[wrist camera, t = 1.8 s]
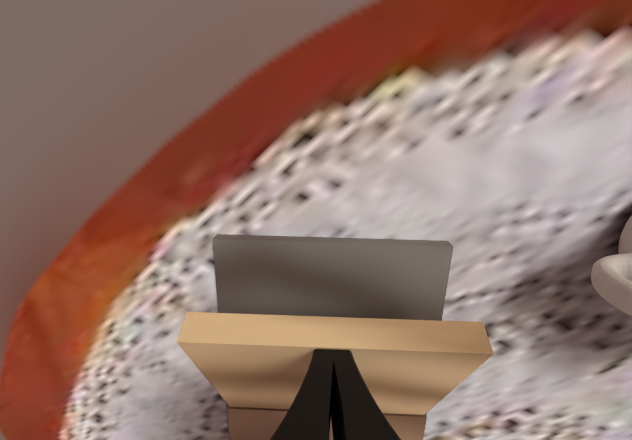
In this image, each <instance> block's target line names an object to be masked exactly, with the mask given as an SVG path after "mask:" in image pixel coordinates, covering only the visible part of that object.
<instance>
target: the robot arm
mask: <svg viewBox="0 0 632 440" xmlns="http://www.w3.org/2000/svg"><path fill="white" fill-rule="evenodd" d="M330 422H332V432H333V440H401V439H400V438H399V436H398V435H397V433H396V432H395V431H394V429H393V428H392V426H391V425H390V424H389V422H388V421H387V419H386V418H385V416H384V415H383V413H382V411H381V410H380V408H379V407H378V405H377V403H376V402H375V400H374V398H373V396H372V395H371V393H370V391H369V389H368V387H367V385H366V384H365V382H364V380H363V378H362V376H361V374H360V372H359V369H358V367H357V365H356V363H355V360H354V358H353V355H352V352H351V351H350V350H337V349H315V350H314V351H313V356H312V360H311V363H310V365H309V368H308V371H307V373H306V376H305V378H304V380H303V383H302V385H301V387H300V389H299V391H298V393H297V395H296V397H295V399H294V401H293V403H292V405H291V407H290V408H289V410H288V412H287V414H286V415H285V417H284V419H283V420H282V422H281V423H280V425H279V427H278V428H277V430H276V431H275V433H274V434H273V436H272V437H271V438H270V440H329V435H330Z"/></svg>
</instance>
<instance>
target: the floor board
mask: <svg viewBox="0 0 632 440" xmlns="http://www.w3.org/2000/svg"><path fill="white" fill-rule="evenodd" d="M213 251H214V263H215V275H216V287H217V299H218V311H219V313H234V314H262V315H291V316H320V317H348V318H377V319H406V320H435V321H441V320H442V314H443V308H444V301H445V295H446V289H447V283H448V276H449V270H450V264H451V258H452V251H453V246H452V245H451V244H450V243H449V242H448V241H427V240H392V239H357V238H323V237H288V236H253V235H219V234H217V235H216V236H215V237H214V238H213ZM226 407H227V419H228V431H229V440H270V438H271V437H272V436H273V434H274V433H275V431H276V430H277V428H278V427H279V425H280V423H281V422H282V420H283V419H284V417H285V415H286V414H287V412H288V410H289V409H273V408H249V407H230V406H229V405H228V404H227V403H226ZM426 414H427V413H426ZM426 414H425V415H416V414H392V413H383V415H384V416H385V418H386V419H387V421H388V422H389V424H390V425H391V426H392V428H393V429H394V431H395V432H396V433H397V435H398V436H399V438H400V439H401V440H423V436H424V430H425V424H426V418H427V417H426ZM329 440H333V432H332V422H330V435H329Z"/></svg>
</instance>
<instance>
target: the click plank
mask: <svg viewBox="0 0 632 440" xmlns="http://www.w3.org/2000/svg"><path fill="white" fill-rule="evenodd" d="M177 343H178V344H179V345H180V347H181V348H182V349H183V350H184V352H185V353H186V354H187V355H188V356H189V358H190V359H191V360H192V361H193V362H194V364H195V365H196V366H197V367H198V369H199V370H200V371H201V372H202V373H203V375H204V376H205V377H206V378H207V380H208V381H209V382H210V383H211V384H212V386H213V387H214V388H215V389H216V390H217V392H218V393H219V394H220V395H221V397H222V398H223V399H224V400H225V401H226V403H227V404H228V405H229V406H230V407H249V408H273V409H289V408H290V407H291V405H292V403H293V401H294V399H295V397H296V395H297V393H298V391H299V389H300V387H301V385H302V383H303V380H304V378H305V376H306V373H307V371H308V368H309V365H310V363H311V360H312V356H313V351H314V350H315V349H337V350H350V351H351V352H352V355H353V358H354V360H355V363H356V365H357V367H358V369H359V372H360V374H361V376H362V378H363V380H364V382H365V384H366V385H367V387H368V389H369V391H370V393H371V395H372V396H373V398H374V400H375V402H376V403H377V405H378V407H379V408H380V410H381V411H382V413H392V414H416V415H425V414H426V413H427V412H428V411H429V410H430V409H432V408H433V407H434V406H435V405H436V404H437V403H438V402H439V401H441V400H442V399H443V398H444V397H445V396H446V395H447V394H449V393H450V392H451V391H452V390H453V389H454V388H455V387H457V386H458V385H459V384H460V383H461V382H462V381H463V380H464V379H466V378H467V377H468V376H469V375H470V374H471V373H472V372H474V371H475V370H476V369H477V368H478V367H479V366H480V365H482V364H483V363H484V362H485V361H486V360H487V359H488V358H489V357H491V356H492V355H493V354H494V353H493V351H492V348H491V345H490V342H489V339H488V336H487V333H486V330H485V327H484V325H483V322H463V321H435V320H406V319H377V318H348V317H320V316H291V315H262V314H234V313H205V312H187V314H186V316H185V319H184V322H183V325H182V328H181V331H180V334H179V337H178V340H177Z"/></svg>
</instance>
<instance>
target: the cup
mask: <svg viewBox="0 0 632 440" xmlns="http://www.w3.org/2000/svg"><path fill="white" fill-rule="evenodd" d="M591 281H592V285H593V287H594V288H595V290H596V291H597V292H598V294H599V295H600V296H601V297H602V298H603V299H605V300H606V301H607V302H608V303H610V304H611V305H613V306H614V307H615V308H617V309H619V310H620V311H622V312H624V313H626V314H627V315H629V316H631V317H632V215H631V217H630V218H629V220H628V221H627V222H626V224H625V227H624V229H623V231H622V233H621V237H620V240H619V248H618V254H616V255H611V256H606V257H603V258H601V259H599V260H597V261H596V262H595V263H594V265H593V267H592V271H591Z"/></svg>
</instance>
